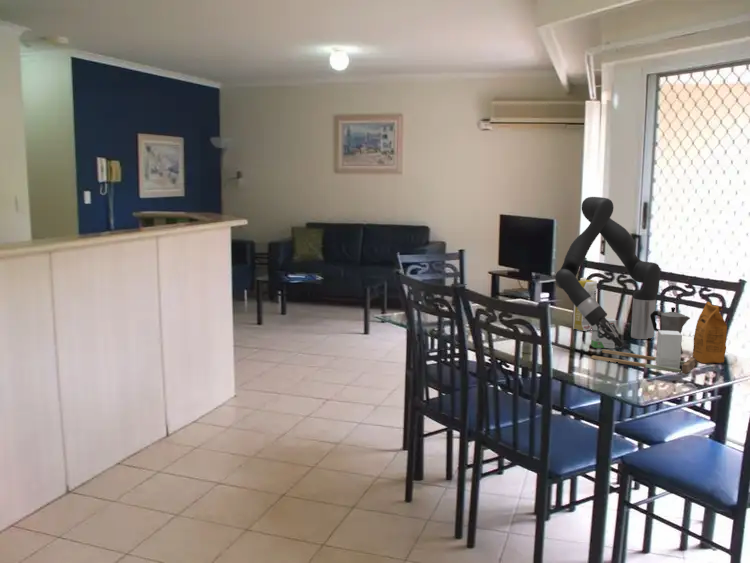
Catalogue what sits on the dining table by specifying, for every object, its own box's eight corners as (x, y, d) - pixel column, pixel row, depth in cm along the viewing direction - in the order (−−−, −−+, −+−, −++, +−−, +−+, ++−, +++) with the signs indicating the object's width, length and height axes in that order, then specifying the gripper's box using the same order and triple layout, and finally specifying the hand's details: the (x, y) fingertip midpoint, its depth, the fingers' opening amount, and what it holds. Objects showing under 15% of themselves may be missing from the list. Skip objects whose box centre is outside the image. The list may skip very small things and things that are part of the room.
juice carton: (582, 327, 317) (584, 276, 314) (597, 329, 311) (599, 278, 308) (570, 329, 311) (572, 278, 308) (585, 332, 305) (587, 279, 302)
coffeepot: (691, 352, 270) (694, 308, 268) (682, 356, 264) (685, 311, 261) (653, 345, 281) (656, 303, 279) (643, 349, 275) (646, 305, 272)
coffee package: (715, 357, 264) (720, 301, 260) (727, 365, 251) (732, 307, 248) (688, 355, 265) (692, 300, 262) (699, 364, 253) (703, 306, 250)
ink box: (593, 348, 277) (594, 319, 275) (590, 345, 282) (592, 317, 280) (615, 348, 276) (616, 320, 275) (611, 345, 281) (613, 317, 280)
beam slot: (603, 351, 271) (603, 344, 270) (695, 365, 250) (695, 357, 250) (591, 358, 260) (591, 350, 260) (686, 373, 240) (686, 365, 239)
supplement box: (680, 369, 246) (682, 335, 244) (658, 367, 248) (660, 333, 246) (676, 363, 253) (678, 330, 251) (655, 362, 255) (657, 329, 253)
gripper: (593, 307, 258) (623, 343, 252) (604, 302, 268) (634, 337, 263) (578, 319, 261) (608, 355, 256) (590, 314, 272) (619, 348, 266)
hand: (621, 346), depth 259 cm, fingers closed
